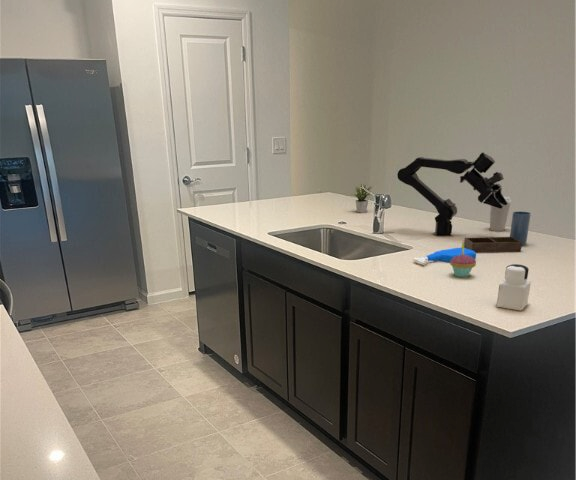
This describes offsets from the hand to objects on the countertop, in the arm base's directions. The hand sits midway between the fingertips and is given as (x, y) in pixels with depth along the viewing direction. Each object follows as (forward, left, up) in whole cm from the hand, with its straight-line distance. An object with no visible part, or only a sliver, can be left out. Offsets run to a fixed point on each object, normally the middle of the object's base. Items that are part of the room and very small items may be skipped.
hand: (504, 206), depth 232 cm
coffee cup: (+7, +22, -15) cm, 27 cm away
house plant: (-49, +76, -15) cm, 92 cm away
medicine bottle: (-27, -83, -15) cm, 89 cm away
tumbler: (+5, -7, -15) cm, 17 cm away
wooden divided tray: (-9, -15, -15) cm, 23 cm away
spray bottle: (-33, -31, -15) cm, 48 cm away
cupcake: (-32, -51, -15) cm, 62 cm away
